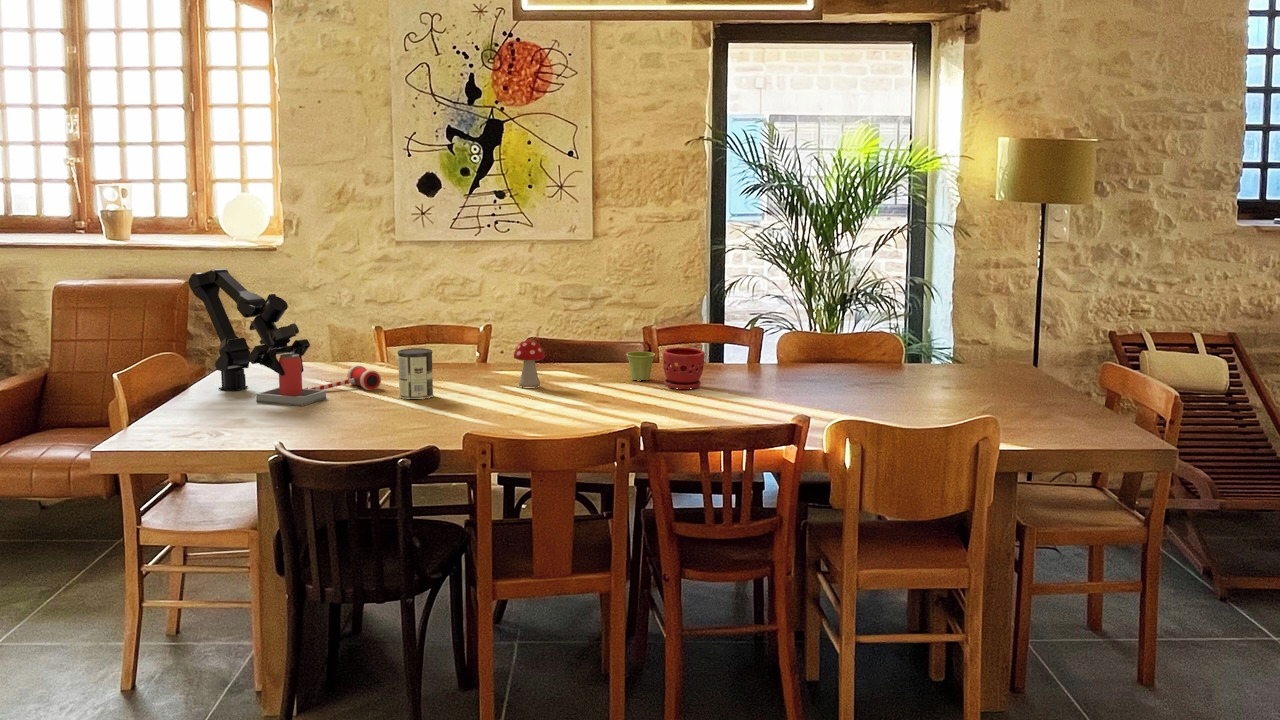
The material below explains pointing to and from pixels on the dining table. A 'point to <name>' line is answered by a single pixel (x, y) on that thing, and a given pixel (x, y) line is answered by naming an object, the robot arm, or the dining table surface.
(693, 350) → the plant pot
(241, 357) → the robot arm
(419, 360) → the coffee can
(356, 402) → the dining table surface
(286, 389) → the beer can
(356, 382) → the toy hammer
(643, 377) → the plant pot
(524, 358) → the decorative mushroom
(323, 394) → the tray
